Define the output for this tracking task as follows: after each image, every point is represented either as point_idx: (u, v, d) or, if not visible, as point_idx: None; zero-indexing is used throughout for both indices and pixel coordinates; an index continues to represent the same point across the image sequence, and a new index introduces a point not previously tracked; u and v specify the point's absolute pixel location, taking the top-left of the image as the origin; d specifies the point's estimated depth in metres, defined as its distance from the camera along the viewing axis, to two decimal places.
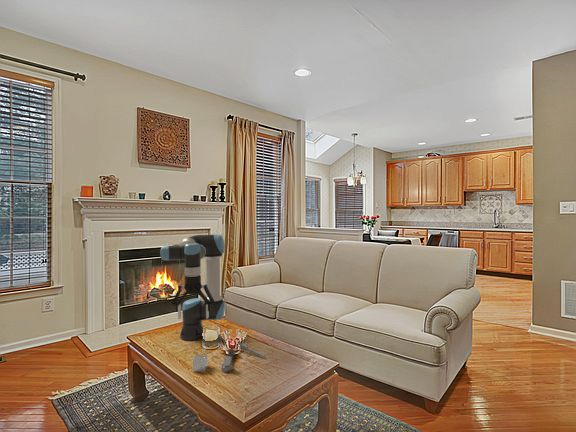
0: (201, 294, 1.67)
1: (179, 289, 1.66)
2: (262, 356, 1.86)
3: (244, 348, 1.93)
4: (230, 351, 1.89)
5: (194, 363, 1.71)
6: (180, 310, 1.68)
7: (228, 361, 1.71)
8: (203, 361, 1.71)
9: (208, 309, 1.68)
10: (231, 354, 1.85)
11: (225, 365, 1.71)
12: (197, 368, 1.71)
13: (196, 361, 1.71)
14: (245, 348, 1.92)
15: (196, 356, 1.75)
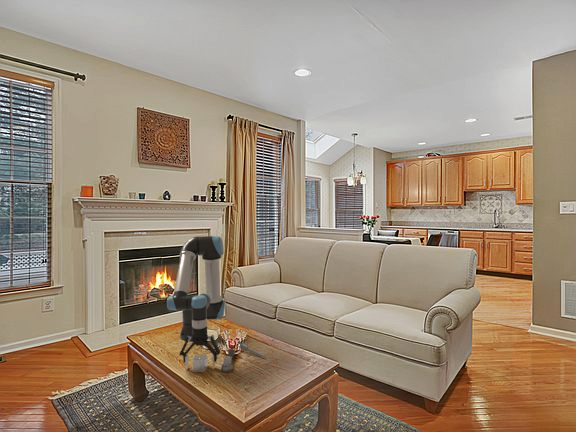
0: (207, 345, 1.73)
1: (186, 340, 1.73)
2: (262, 356, 1.86)
3: (244, 348, 1.93)
4: (230, 351, 1.89)
5: (194, 363, 1.71)
6: (187, 360, 1.74)
7: (228, 361, 1.71)
8: (203, 361, 1.71)
9: (214, 359, 1.74)
10: (231, 354, 1.85)
11: (225, 365, 1.71)
12: (197, 368, 1.71)
13: (196, 361, 1.71)
14: (245, 348, 1.92)
15: (196, 356, 1.75)
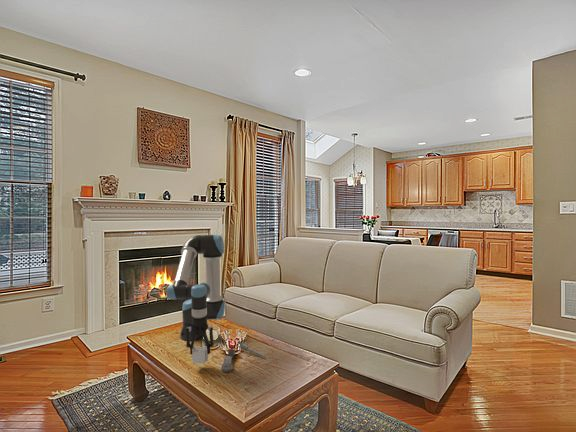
0: (205, 336, 1.73)
1: (187, 332, 1.73)
2: (262, 356, 1.86)
3: (244, 348, 1.93)
4: (230, 351, 1.89)
5: (194, 355, 1.72)
6: None
7: (228, 361, 1.71)
8: (203, 353, 1.72)
9: (208, 352, 1.74)
10: (231, 354, 1.85)
11: (225, 365, 1.71)
12: (197, 360, 1.72)
13: (196, 353, 1.72)
14: (245, 348, 1.92)
15: (196, 348, 1.76)
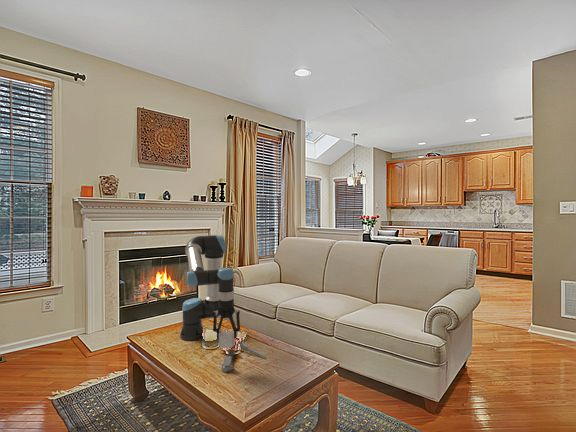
0: (232, 320, 1.71)
1: (214, 315, 1.70)
2: (262, 356, 1.86)
3: (244, 348, 1.93)
4: (230, 351, 1.89)
5: (221, 339, 1.69)
6: None
7: (228, 361, 1.71)
8: (230, 337, 1.69)
9: (234, 336, 1.72)
10: (231, 354, 1.85)
11: (225, 365, 1.71)
12: (224, 344, 1.69)
13: (223, 337, 1.69)
14: (245, 348, 1.92)
15: (222, 332, 1.73)
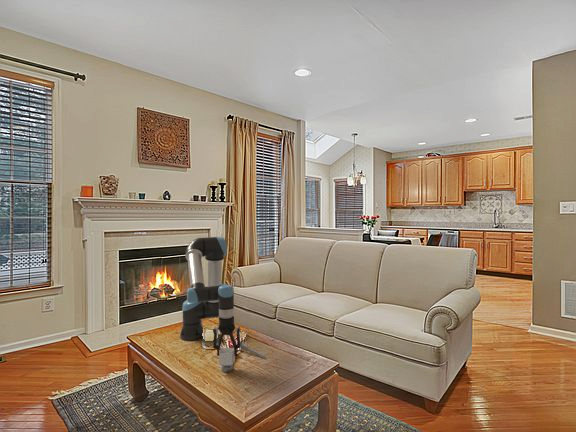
0: (232, 337, 1.71)
1: (214, 332, 1.71)
2: (262, 356, 1.86)
3: (244, 348, 1.93)
4: None
5: (221, 356, 1.69)
6: None
7: None
8: (230, 354, 1.69)
9: (234, 353, 1.72)
10: None
11: (225, 365, 1.71)
12: (224, 361, 1.69)
13: (223, 354, 1.69)
14: (245, 348, 1.92)
15: (223, 349, 1.74)
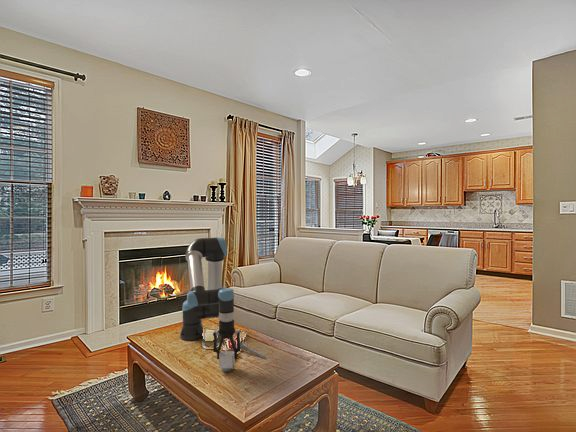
0: (232, 340, 1.71)
1: (215, 336, 1.71)
2: (262, 356, 1.86)
3: (244, 348, 1.93)
4: None
5: (221, 360, 1.69)
6: None
7: None
8: (230, 358, 1.69)
9: (235, 357, 1.72)
10: None
11: None
12: (224, 364, 1.69)
13: (223, 358, 1.69)
14: (245, 348, 1.92)
15: (223, 352, 1.74)
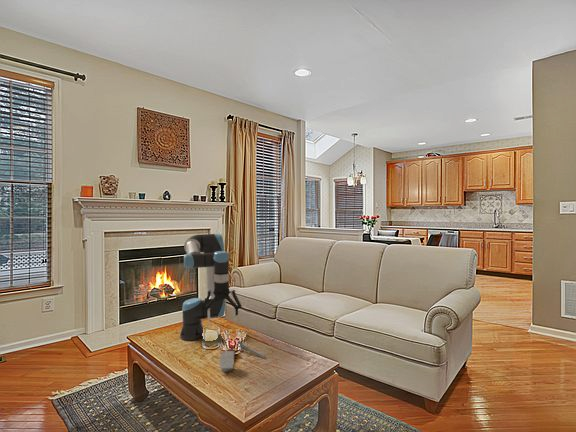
0: (229, 299, 1.77)
1: (209, 294, 1.76)
2: (262, 356, 1.86)
3: (245, 348, 1.93)
4: None
5: (221, 360, 1.69)
6: (209, 314, 1.78)
7: None
8: (230, 358, 1.69)
9: (236, 313, 1.78)
10: None
11: None
12: (224, 364, 1.69)
13: (223, 358, 1.69)
14: (246, 348, 1.92)
15: (223, 352, 1.74)
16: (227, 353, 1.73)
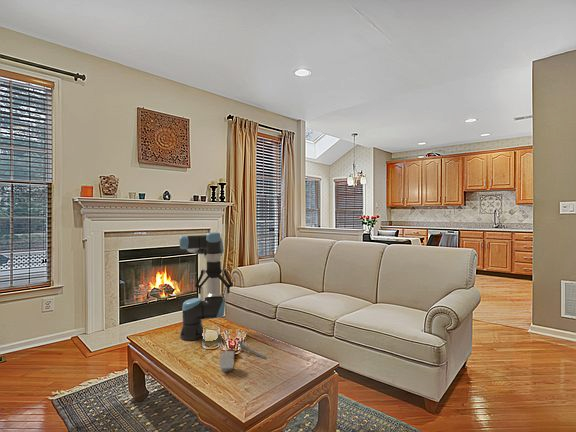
0: (221, 278, 1.86)
1: (201, 273, 1.86)
2: (262, 356, 1.86)
3: (245, 348, 1.93)
4: None
5: (221, 360, 1.69)
6: (202, 292, 1.87)
7: None
8: (230, 358, 1.69)
9: (227, 291, 1.87)
10: None
11: None
12: (224, 364, 1.69)
13: (223, 358, 1.69)
14: (246, 348, 1.92)
15: (223, 352, 1.74)
16: (227, 353, 1.73)
